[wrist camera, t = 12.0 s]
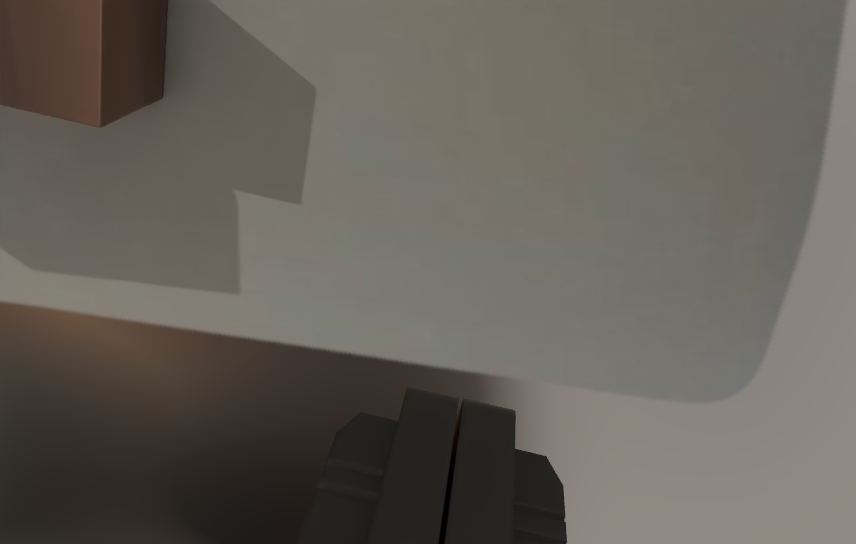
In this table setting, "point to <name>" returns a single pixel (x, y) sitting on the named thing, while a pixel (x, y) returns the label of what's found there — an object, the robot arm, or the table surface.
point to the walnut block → (82, 57)
